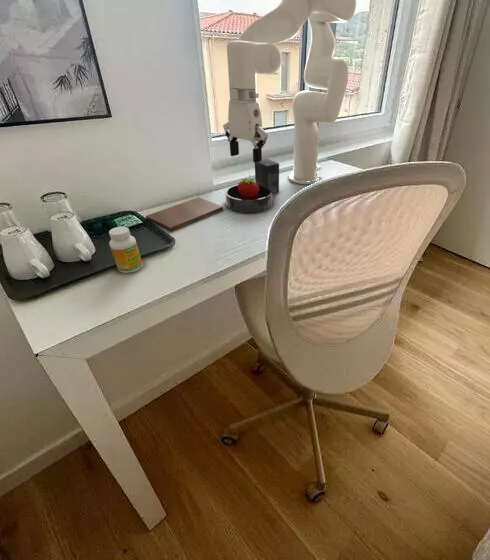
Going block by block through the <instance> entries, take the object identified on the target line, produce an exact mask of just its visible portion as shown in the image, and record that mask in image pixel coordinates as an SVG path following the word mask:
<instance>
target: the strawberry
mask: <svg viewBox="0 0 490 560" xmlns="http://www.w3.org/2000/svg"><path fill="white" fill-rule="evenodd" d="M250 175H251V174H250V173H249V175H248V178H246V177H245V178H240V180H241V181H239V183H237V185H238V190H239V193H240V195H241V196H242V197H243V199H244V200H254V199H255V198H256V196H257V195H258V192H259V186H258V185H257V183H255V182H257V181H255V177H254V178H250Z"/></svg>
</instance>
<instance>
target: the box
mask: <svg viewBox="0 0 490 560" xmlns="http://www.w3.org/2000/svg"><path fill="white" fill-rule="evenodd" d="M254 178H255V179H254V181H257V182H255V183H257V184H258V185H263V186H266V187H268V188H269V189H270V190H271V192H272V195H273V194H276V193H279V192H280V163H279V162H276V161H273V160H272V159H269V158H262V160H261V161H260V162H256V163H255V162H254Z"/></svg>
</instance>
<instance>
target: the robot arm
mask: <svg viewBox="0 0 490 560" xmlns="http://www.w3.org/2000/svg"><path fill="white" fill-rule="evenodd" d="M356 7H357V0H280V1H279V2H278V4H277V5H276V6H275V7H274V9H272V10H270V11H268V12H267V13H265V14H264V15H262V16H261V17H260V18H258V19H256V20H255V21H253V22H252V23H251V24H250V25H249V26H247V27H246V28H245V29H244V31H243V32H242V33H241V35H240V36H239V37H238V39H237V40H230V41H228V42H227V45H226V56H227V58H226V59H227V73H228V74H227V75H228V89H229V91H228V92H229V100H228V110H227V111H228V112H227V114H228V115H227V117H228V118H227V121H228V122H225V123H224V124H223V125H222V127H223V130H224V132H225V134H224V135H225V137H226V138H227V142H228V143H229V153H230V156H231V157H235V156H238V155H240V146H239V145H240V144H239V141H238V139H239V140H243V141H249V142H251V145H252V146H253V148H252V162H253V163H254V164H255V163H256V162H260V161H261V160H262V159H263V153H262V152H263V151H262V149H263V148H264V146H265V145H266V144H267V139H268V137H269V134H268V132H266V130H264V128H263V118H262V110H261V106H260V102H258V98H259V93H258V91H257V89H258V87H257V74H258V75H265V76H267V75H268V76H269V75H273V74H275V73H277V72H278V71H279V69H280V68H281V65H282V53H281V51H280V49H279V48H278V46H277V44H280V43H283V42H286V41H288V40H291V39H293V38H294V37H296V36H297V34H298V33H299V32H300V30H301V29H302V27H303V25H304V24H305V23H306V21H308V25H309V27H310V28H309V29H310V37H311V39H310V46H309V50H308V54H307V59H306V63H305V67H304V72H303V81H304V84H305V85H306V86H307V87H309V88H312V89H317V90H325V91H326V92H320V91H313V90H301V91H298V92H297V93H296V94H295V95H294V97H293V100H292V113H293V115H292V116H293V123H294V125H293V126H294V133H293V134H294V135H293V136H294V139H293V166H292V167H293V168H292V172H291V173H290V174H289V176H288V179H289V180H290V182H292V183H295V184H300V185H313V184H316V183H315V182H317V181H318V182H320V180H321V179H320V178H321V177H320V175H318V172H319V171H322V168H323V167H322V166H321V165H318V158H319V157H318V155H319V145H320V143H319V142H320V130H319V127H318V125H317V124H324V125H332V124H334V123H335V122H336V121H337V119H338V117H339V115H340V111H341V107H342V104H343V100H344V97H345V93H346V89H347V87H348V86H347V85H348V82H349V74H350V73H349V66H348V63H347V61H346V60H345V59H343V58H340V57H334V54H335V49H336V38H335V35H334V32H333V30H332V27H331V25H330V23H337V24H339V23H341V24H344V23H347V22H349V21H350V20H351V19H352V18H353V16H354V15H355V12H356ZM317 177H320V178H317ZM316 178H317V179H316ZM318 179H319V180H318ZM316 180H317V181H316ZM307 181H310V182H307ZM318 182H317V183H318Z"/></svg>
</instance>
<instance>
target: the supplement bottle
mask: <svg viewBox="0 0 490 560" xmlns="http://www.w3.org/2000/svg"><path fill="white" fill-rule="evenodd" d="M108 234H109V237H110V240H109V244H108V245H109V248H110V251H111V254H112V256H113V259H114V261H115V265H116V268H117V270H118V272H120V273H123V274H129V273H134V272H137V271H139V270H140V269H141V268H142V267H143V260H142V257H141V253H140V250H139V246H138V243H137V240H136V237H134V236H133V235H131V231H130V228H128V227H127V226H116V227H113V228H111V229H110V230H109V231H108Z"/></svg>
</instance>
